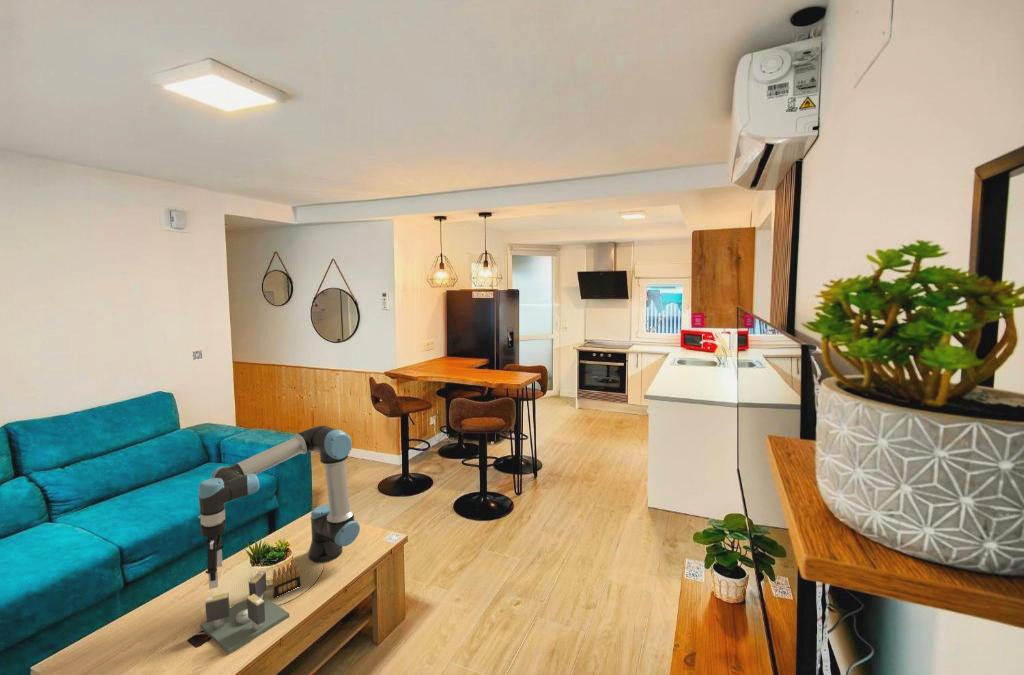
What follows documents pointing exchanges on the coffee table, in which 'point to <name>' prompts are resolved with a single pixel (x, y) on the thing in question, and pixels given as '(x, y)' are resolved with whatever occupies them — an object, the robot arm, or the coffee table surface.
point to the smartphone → (199, 639)
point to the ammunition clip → (286, 580)
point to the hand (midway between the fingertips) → (216, 577)
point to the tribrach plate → (243, 625)
